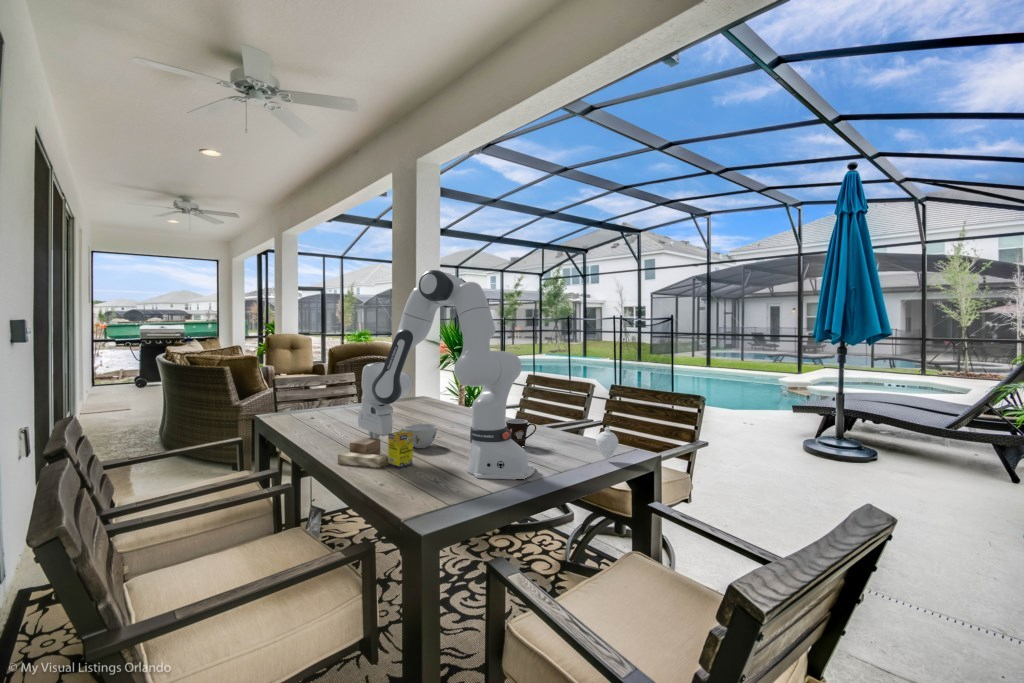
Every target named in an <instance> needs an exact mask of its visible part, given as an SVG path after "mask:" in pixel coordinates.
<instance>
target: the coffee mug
mask: <svg viewBox="0 0 1024 683" xmlns="http://www.w3.org/2000/svg"><path fill="white" fill-rule="evenodd" d="M505 426H506V427H507V428H508V429H509V430H510V429H512V432H511V439H512V440H513V441H514V442H516V443H517V444H518V445H519V446H520V447H522V446H525V447H526V442H527V441H526V440H527V439H529V438H530V437H531V436H532V435H534V433H535V432H536V431H537V426H536V424H535V423H532V422H531V423H529V421H528V420H527V419H523V418H510V419H505ZM530 426H534V430H533V432H531V433H530V434H528V435H527V431H528V428H529V427H530Z"/></svg>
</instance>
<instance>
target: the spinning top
mask: <svg viewBox="0 0 1024 683" xmlns="http://www.w3.org/2000/svg"><path fill="white" fill-rule="evenodd" d="M595 441H596V442H595V444H596V446H597V448H598V450H599V451H600V453H601V455H602V456H603V458H604V459H605V460H606V459H607V460H609V458H611V456H612V455H613V454H614V452H615V451H616V449H617V448H618V445H619V438H618V436H617V435H616V434H615V433H614V432H612V431H611V427H604V431H602V432H600V433H599V434H598V435H597V436H596V439H595Z"/></svg>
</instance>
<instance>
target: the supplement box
mask: <svg viewBox="0 0 1024 683" xmlns="http://www.w3.org/2000/svg"><path fill="white" fill-rule="evenodd" d="M387 440H388V444H387V450H388V451H387V452H388V453H387V455H388V456H387V459H388V460H387V464H388V466H390V467H393V466H394V467H393V468H396V467H397V469H401V468H404V466H405V467H408V466H412V465H413V459H414V458H413V449H414V447H413V433H410V432H406V431H400V430H399V431H394V432H392V433H389V434H388V439H387ZM411 464H412V465H411ZM407 465H408V466H407Z"/></svg>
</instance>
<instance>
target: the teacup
mask: <svg viewBox="0 0 1024 683" xmlns="http://www.w3.org/2000/svg"><path fill="white" fill-rule="evenodd" d="M438 429H439V428H438V426H437V425H435V424H433V423H432V424H431V423H416V424H411V425H406V426H405V427H404V428H401V429H400V430H399V431H406V432H410V433H413V448H414V447H415V449H418V448H422V449H426V447H427V448H429V447H430V446H431V444H433V442H434V440H435V438H436V436H437V433H438Z"/></svg>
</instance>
